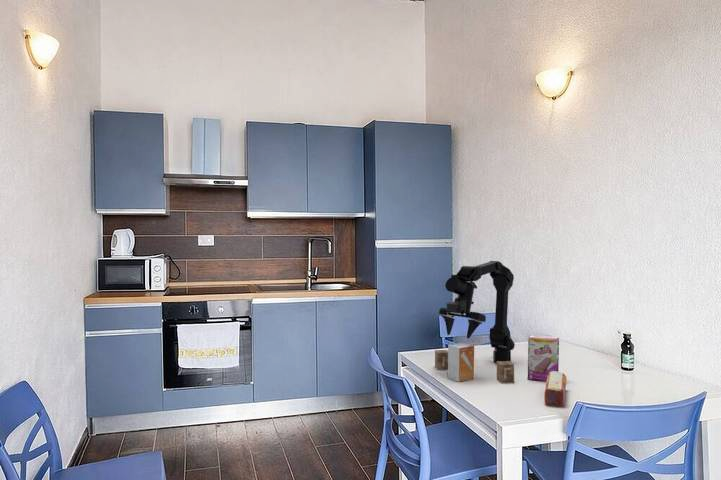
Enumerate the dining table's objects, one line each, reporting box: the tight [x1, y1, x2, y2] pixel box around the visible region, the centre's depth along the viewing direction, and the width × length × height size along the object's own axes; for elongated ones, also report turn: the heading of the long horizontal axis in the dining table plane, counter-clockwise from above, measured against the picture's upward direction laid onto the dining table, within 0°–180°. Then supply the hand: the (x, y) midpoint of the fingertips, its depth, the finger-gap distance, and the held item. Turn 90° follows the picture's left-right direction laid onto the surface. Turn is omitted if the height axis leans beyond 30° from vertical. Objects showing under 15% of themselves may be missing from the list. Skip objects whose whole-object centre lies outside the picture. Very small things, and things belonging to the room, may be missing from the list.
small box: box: [447, 342, 475, 383], centre depth 204 cm, size 8×6×13 cm
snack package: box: [543, 371, 567, 408], centre depth 182 cm, size 21×7×7 cm, turn 157°
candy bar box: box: [527, 334, 560, 382], centre depth 203 cm, size 11×5×16 cm, turn 71°
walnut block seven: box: [496, 361, 515, 384], centre depth 201 cm, size 5×5×7 cm
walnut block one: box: [434, 349, 448, 371], centre depth 220 cm, size 5×5×7 cm
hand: (458, 336), depth 207 cm, fingers open, 9 cm apart
